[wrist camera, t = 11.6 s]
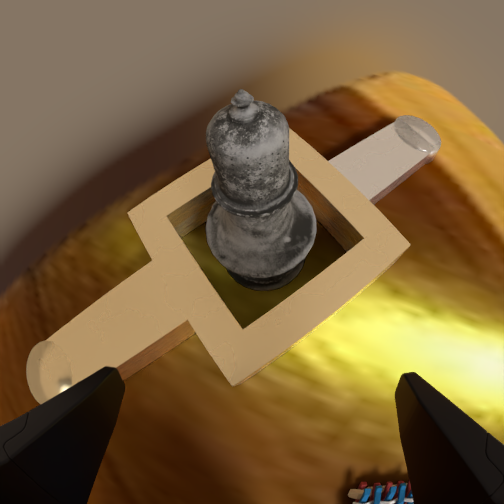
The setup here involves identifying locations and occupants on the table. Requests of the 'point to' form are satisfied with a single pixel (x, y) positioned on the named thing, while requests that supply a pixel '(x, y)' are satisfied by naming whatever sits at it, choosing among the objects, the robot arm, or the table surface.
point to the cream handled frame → (365, 173)
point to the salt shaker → (256, 196)
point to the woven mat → (383, 493)
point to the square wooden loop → (203, 293)
